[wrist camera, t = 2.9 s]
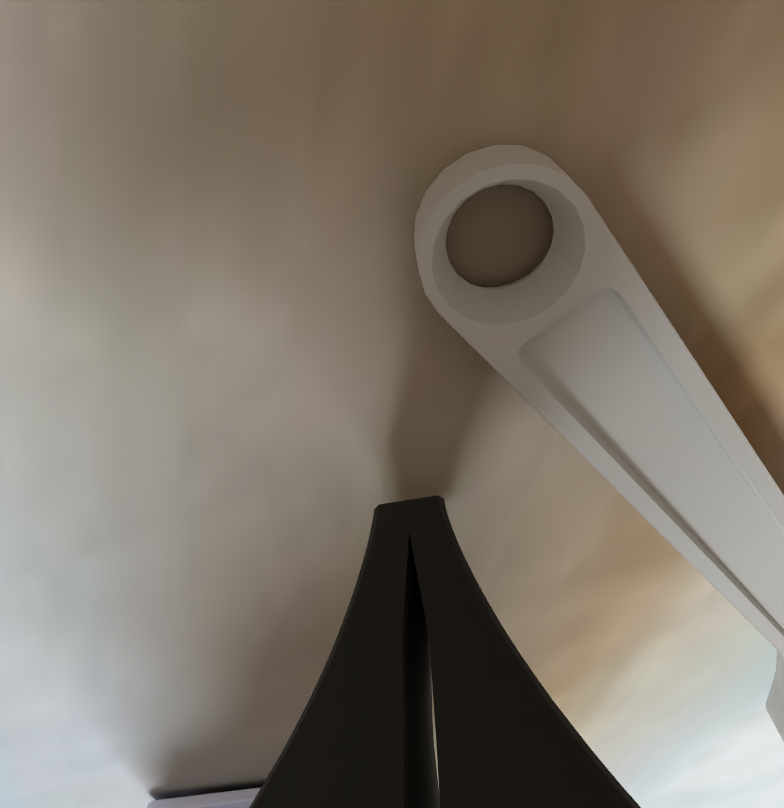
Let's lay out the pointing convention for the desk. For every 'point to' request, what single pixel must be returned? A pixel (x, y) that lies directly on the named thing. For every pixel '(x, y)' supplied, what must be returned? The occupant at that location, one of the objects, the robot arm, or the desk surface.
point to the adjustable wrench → (616, 383)
